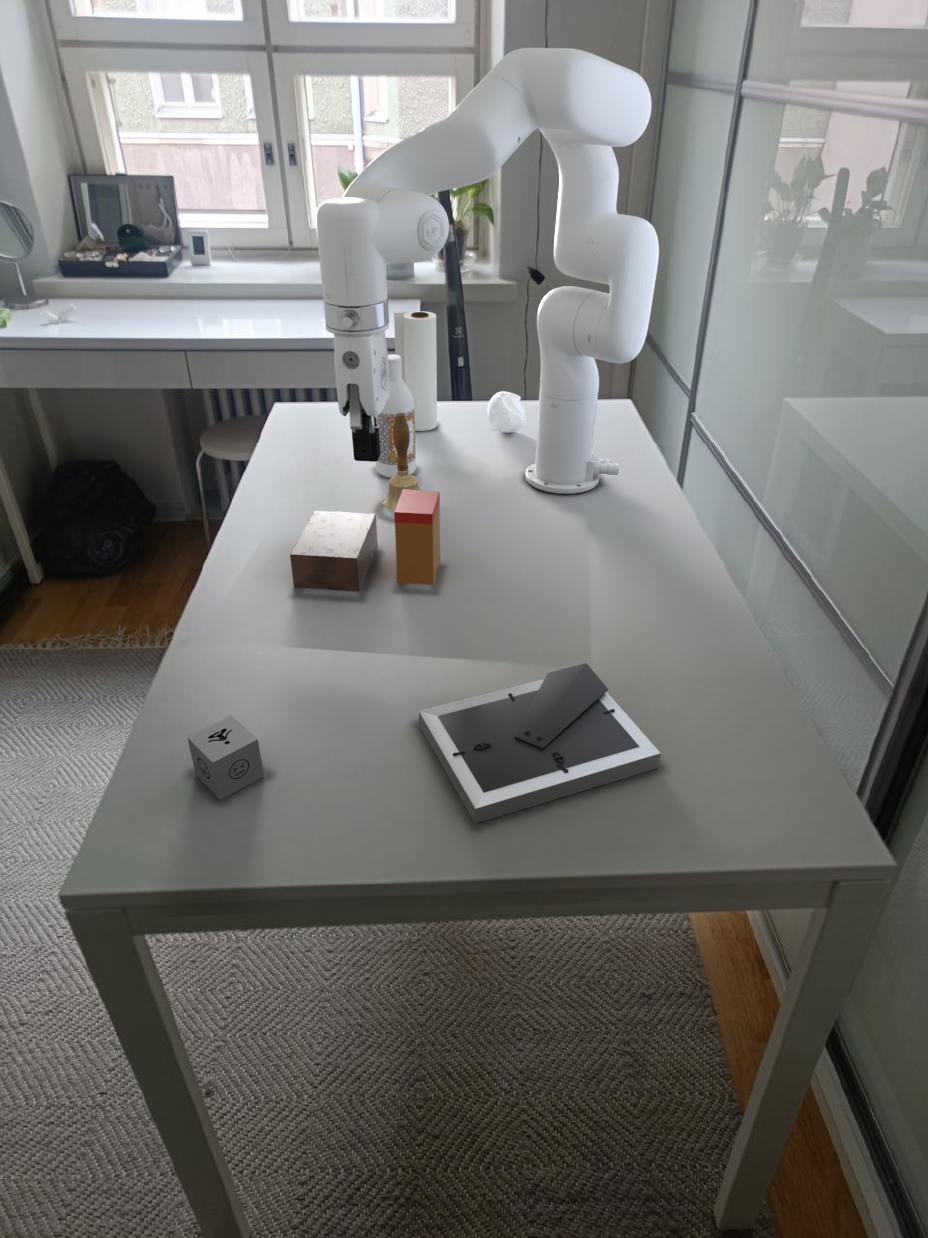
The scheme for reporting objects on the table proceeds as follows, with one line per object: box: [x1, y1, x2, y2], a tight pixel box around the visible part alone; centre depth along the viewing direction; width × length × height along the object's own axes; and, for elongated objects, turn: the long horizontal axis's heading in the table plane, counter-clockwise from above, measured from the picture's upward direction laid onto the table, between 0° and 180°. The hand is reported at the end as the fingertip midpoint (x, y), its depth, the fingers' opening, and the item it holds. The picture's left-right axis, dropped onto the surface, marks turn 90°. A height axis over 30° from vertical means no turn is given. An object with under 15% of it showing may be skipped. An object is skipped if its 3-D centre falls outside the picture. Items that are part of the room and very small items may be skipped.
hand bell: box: [381, 413, 420, 512], centre depth 136 cm, size 8×8×16 cm
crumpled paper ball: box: [486, 390, 528, 434], centre depth 167 cm, size 8×8×8 cm
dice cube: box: [187, 714, 265, 801], centre depth 88 cm, size 5×5×5 cm
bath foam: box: [375, 354, 417, 479], centre depth 147 cm, size 7×7×20 cm
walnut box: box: [289, 510, 379, 593], centre depth 122 cm, size 9×13×6 cm
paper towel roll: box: [393, 310, 438, 432], centre depth 165 cm, size 7×6×21 cm
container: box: [393, 489, 441, 585], centre depth 119 cm, size 11×7×13 cm
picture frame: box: [418, 662, 662, 825], centre depth 93 cm, size 16×3×21 cm
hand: (367, 458), depth 113 cm, fingers closed
